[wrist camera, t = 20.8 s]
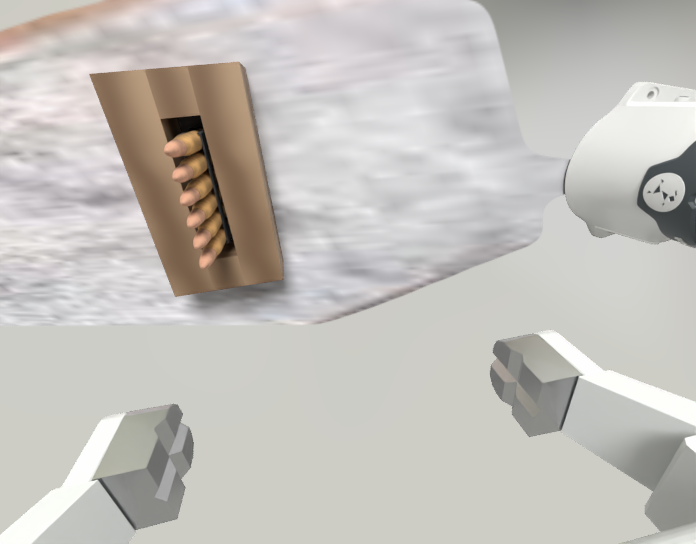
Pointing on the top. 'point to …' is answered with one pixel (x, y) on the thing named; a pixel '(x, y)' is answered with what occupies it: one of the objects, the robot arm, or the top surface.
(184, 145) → the ammunition clip
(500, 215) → the top surface
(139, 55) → the top surface
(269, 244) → the slotted wooden block
